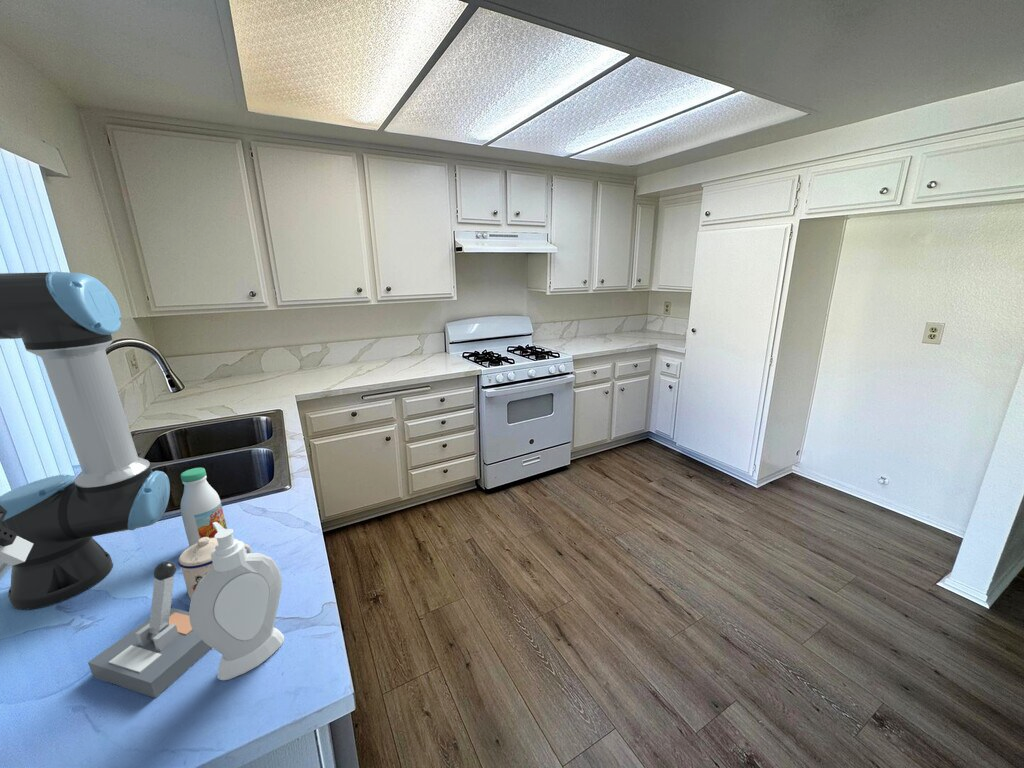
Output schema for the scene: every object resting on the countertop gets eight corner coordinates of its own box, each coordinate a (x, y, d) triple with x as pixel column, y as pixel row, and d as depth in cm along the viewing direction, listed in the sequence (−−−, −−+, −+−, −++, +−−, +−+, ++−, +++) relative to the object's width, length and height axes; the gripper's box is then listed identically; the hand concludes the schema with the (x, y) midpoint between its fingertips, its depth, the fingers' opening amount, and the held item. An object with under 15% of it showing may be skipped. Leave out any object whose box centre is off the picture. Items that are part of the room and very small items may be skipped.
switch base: (155, 698, 63) (146, 670, 62) (93, 676, 67) (83, 650, 65) (226, 634, 74) (220, 609, 73) (169, 619, 78) (163, 595, 76)
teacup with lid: (191, 611, 80) (177, 560, 77) (184, 587, 86) (171, 539, 83) (260, 579, 88) (250, 532, 85) (249, 560, 94) (240, 515, 91)
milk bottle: (188, 560, 94) (168, 482, 89) (193, 542, 101) (174, 469, 96) (228, 548, 98) (211, 473, 93) (230, 532, 105) (214, 461, 100)
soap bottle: (280, 618, 77) (257, 504, 71) (298, 640, 72) (275, 519, 66) (198, 667, 68) (163, 540, 62) (212, 696, 63) (176, 561, 57)
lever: (153, 647, 67) (163, 566, 68) (140, 644, 68) (150, 563, 69) (173, 638, 70) (181, 560, 71) (160, 634, 71) (168, 557, 72)
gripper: (-332, 512, 36) (-51, 600, 52) (-143, 463, 38) (67, 562, 55) (-252, 447, 41) (-20, 547, 57) (-91, 408, 43) (87, 514, 60)
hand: (22, 554), depth 56 cm, fingers closed
